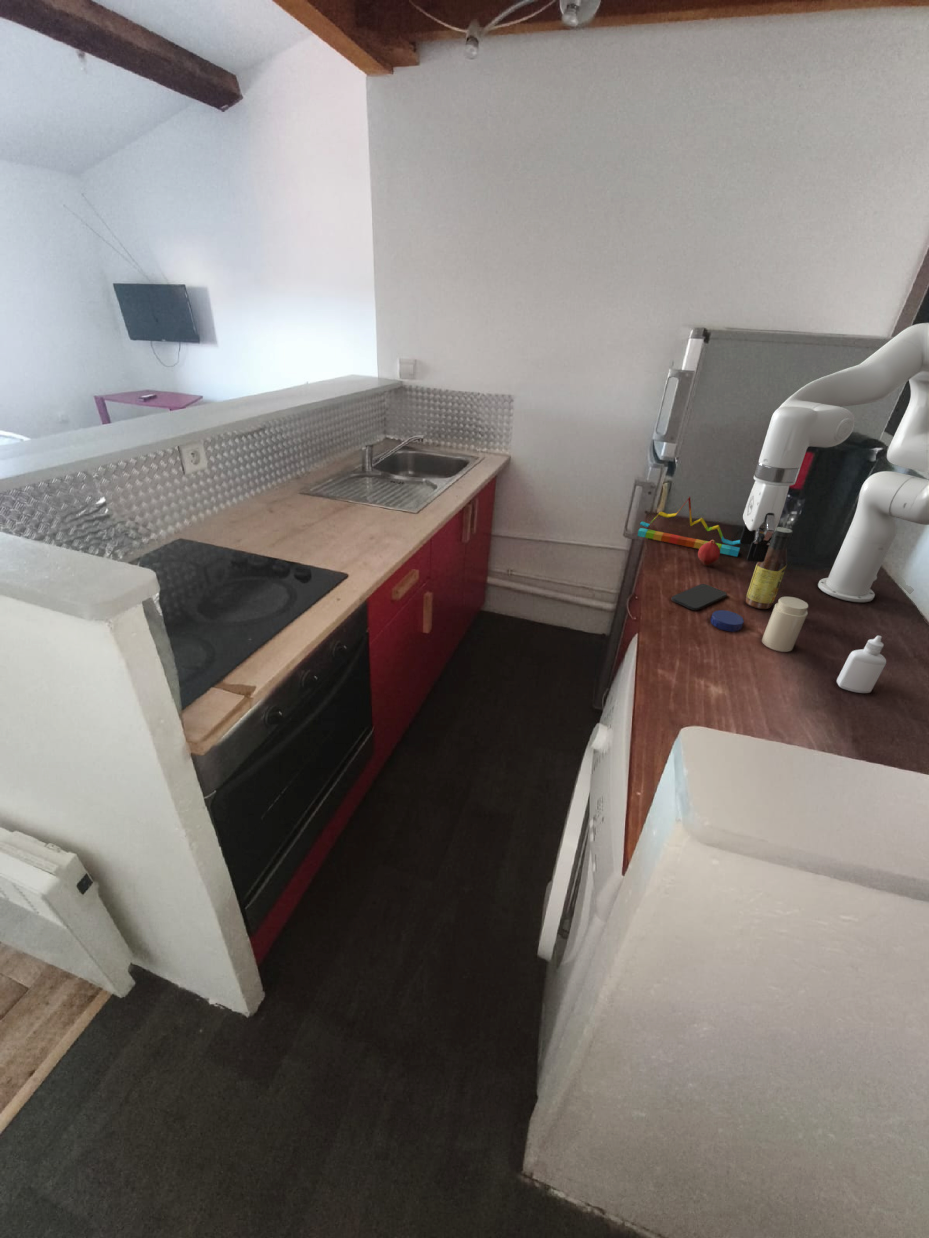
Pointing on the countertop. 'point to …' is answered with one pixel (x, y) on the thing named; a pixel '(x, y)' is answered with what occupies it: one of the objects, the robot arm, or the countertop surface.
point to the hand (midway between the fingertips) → (750, 552)
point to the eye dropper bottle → (863, 668)
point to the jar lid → (727, 620)
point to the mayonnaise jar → (785, 624)
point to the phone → (699, 597)
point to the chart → (685, 540)
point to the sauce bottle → (769, 571)
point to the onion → (709, 552)
